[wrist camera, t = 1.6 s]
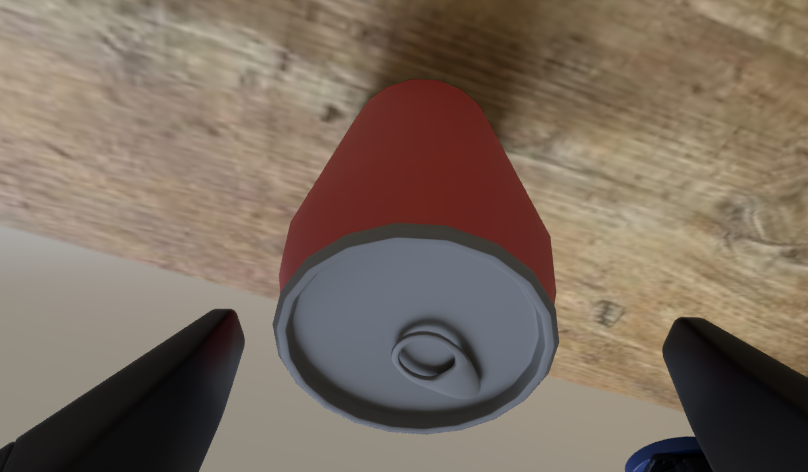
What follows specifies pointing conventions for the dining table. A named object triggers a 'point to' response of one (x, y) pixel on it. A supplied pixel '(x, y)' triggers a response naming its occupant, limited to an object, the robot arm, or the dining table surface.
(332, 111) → the dining table surface
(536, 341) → the beer can
